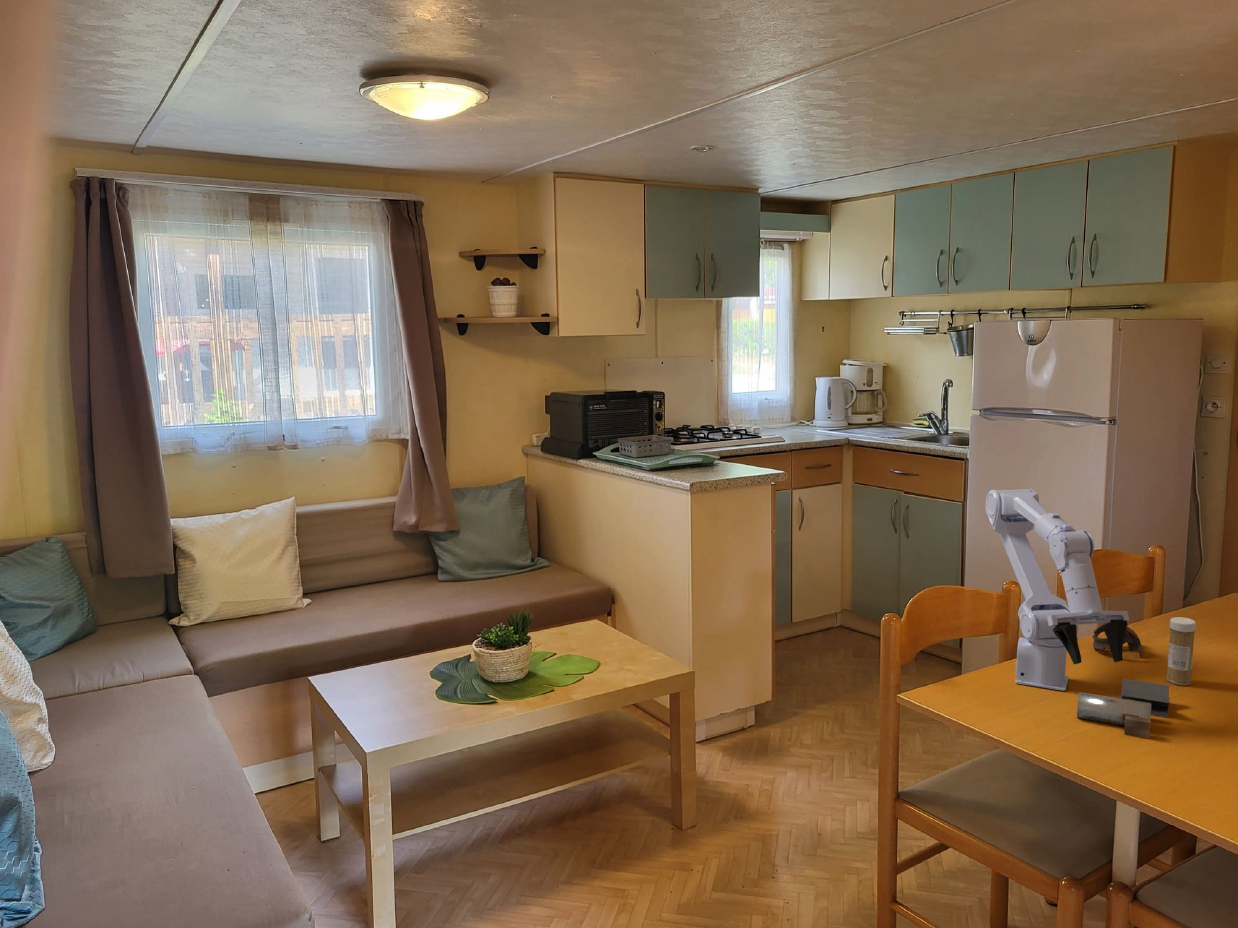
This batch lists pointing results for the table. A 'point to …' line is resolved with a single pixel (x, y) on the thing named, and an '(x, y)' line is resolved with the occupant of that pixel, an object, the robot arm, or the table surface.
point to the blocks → (1137, 726)
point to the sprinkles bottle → (1181, 651)
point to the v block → (1147, 695)
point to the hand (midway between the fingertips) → (1098, 662)
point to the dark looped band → (1128, 637)
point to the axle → (1110, 708)
